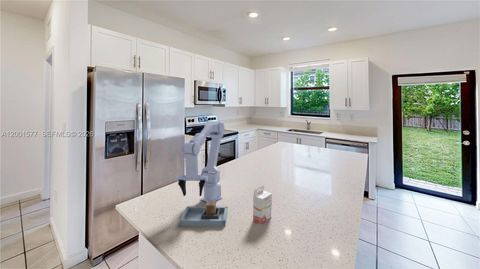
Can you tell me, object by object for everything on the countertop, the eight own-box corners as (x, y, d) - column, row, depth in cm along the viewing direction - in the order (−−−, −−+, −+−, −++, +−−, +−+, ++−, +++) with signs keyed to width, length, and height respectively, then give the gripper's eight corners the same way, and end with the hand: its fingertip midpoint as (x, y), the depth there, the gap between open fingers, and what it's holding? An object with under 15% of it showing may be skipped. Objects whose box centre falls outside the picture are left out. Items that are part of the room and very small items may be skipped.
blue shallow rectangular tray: (227, 211, 103) (227, 205, 103) (225, 226, 90) (225, 219, 90) (187, 211, 103) (187, 204, 103) (179, 226, 91) (178, 218, 90)
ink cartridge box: (262, 224, 91) (262, 192, 90) (252, 220, 94) (252, 189, 93) (272, 216, 98) (272, 186, 96) (263, 213, 101) (263, 184, 99)
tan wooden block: (216, 215, 98) (215, 201, 98) (214, 220, 95) (214, 205, 94) (207, 215, 99) (207, 201, 98) (206, 220, 95) (205, 205, 94)
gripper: (173, 170, 94) (174, 198, 96) (205, 170, 94) (206, 198, 96) (178, 165, 101) (179, 192, 103) (208, 165, 101) (208, 192, 103)
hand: (192, 195), depth 100 cm, fingers open, 7 cm apart
